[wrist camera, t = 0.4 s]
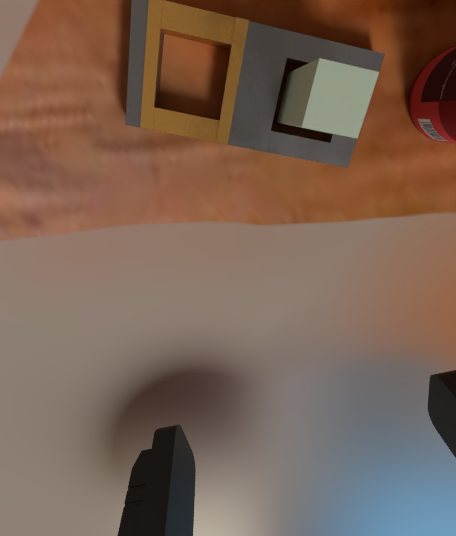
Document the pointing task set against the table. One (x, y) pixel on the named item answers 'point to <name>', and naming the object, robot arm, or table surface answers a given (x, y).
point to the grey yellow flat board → (233, 78)
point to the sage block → (327, 97)
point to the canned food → (436, 98)
